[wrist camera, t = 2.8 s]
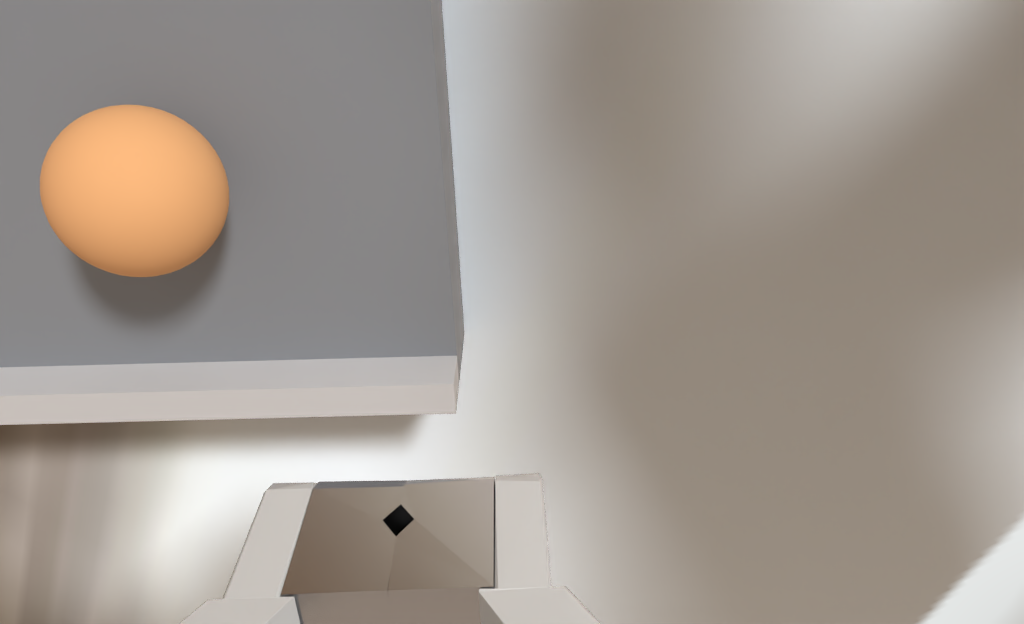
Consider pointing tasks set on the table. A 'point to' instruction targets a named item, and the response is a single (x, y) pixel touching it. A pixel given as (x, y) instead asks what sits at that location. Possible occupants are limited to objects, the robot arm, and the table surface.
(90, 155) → the ball
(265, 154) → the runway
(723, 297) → the table surface
